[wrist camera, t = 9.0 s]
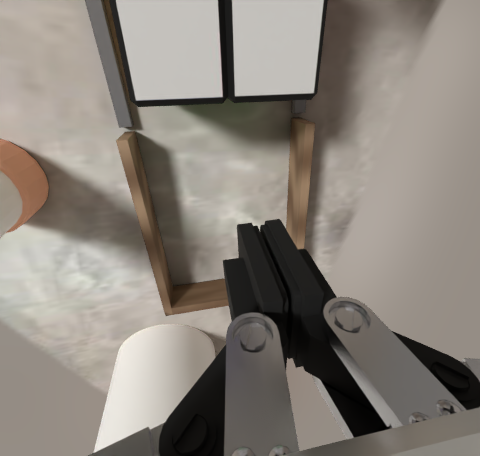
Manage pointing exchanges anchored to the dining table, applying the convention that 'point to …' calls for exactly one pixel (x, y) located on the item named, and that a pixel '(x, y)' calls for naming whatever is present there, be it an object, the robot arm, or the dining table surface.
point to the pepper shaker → (19, 187)
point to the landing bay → (113, 70)
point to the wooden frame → (171, 296)
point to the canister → (152, 378)
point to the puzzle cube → (219, 50)
